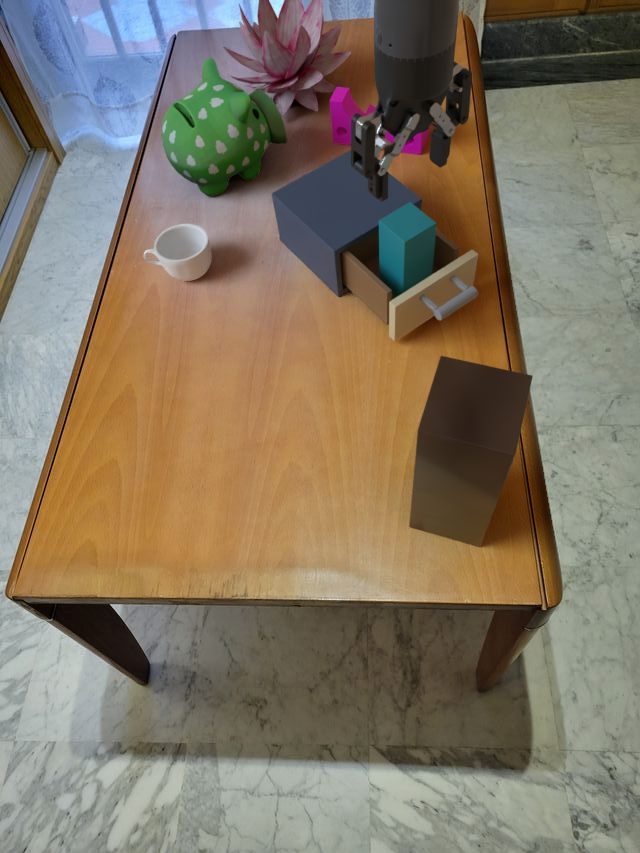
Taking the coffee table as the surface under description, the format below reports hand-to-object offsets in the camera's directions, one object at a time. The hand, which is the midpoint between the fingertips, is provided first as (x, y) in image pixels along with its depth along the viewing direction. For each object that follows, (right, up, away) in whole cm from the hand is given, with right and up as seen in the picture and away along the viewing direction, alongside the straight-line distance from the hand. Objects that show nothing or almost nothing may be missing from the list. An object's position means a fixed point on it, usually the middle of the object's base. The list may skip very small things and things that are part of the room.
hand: (409, 179), depth 72 cm
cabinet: (-6, -1, +22) cm, 23 cm away
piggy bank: (-25, +14, +33) cm, 44 cm away
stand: (+5, -37, 0) cm, 37 cm away
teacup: (-30, -5, +23) cm, 38 cm away
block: (+2, -9, +15) cm, 17 cm away
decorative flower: (-15, +32, +42) cm, 55 cm away
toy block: (0, +20, +34) cm, 40 cm away
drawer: (+2, -10, +15) cm, 18 cm away
